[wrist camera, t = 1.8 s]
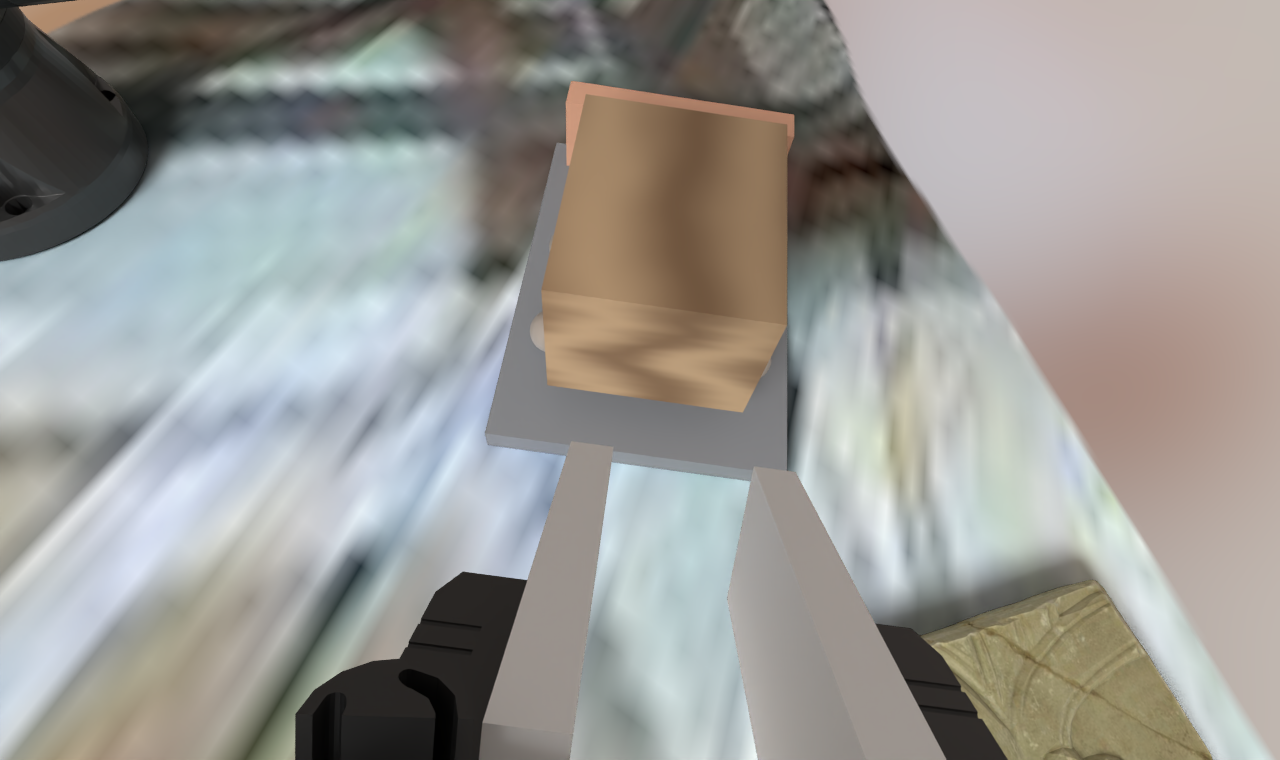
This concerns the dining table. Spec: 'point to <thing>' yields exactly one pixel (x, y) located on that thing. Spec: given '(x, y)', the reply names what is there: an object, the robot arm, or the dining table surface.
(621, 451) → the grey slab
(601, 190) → the oak block
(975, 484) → the dining table surface
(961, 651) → the decorative tile
